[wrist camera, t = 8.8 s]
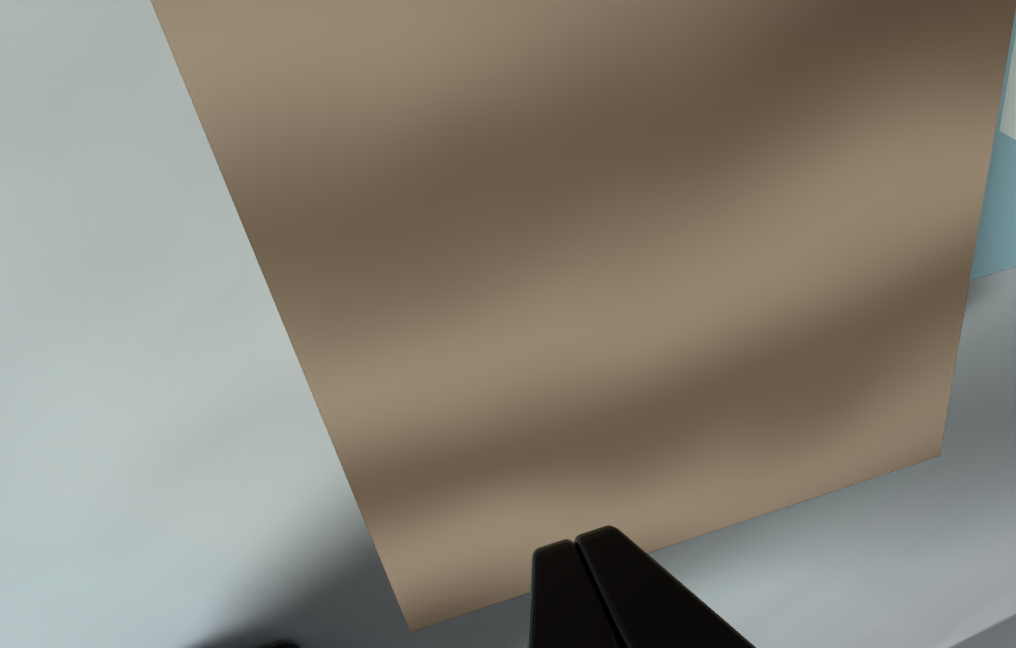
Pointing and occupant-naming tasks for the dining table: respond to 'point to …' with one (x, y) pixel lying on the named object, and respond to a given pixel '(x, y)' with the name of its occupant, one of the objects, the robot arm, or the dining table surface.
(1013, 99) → the white box
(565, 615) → the robot arm
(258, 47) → the tan flat block
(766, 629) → the dining table surface
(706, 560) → the dining table surface
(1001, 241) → the mat
